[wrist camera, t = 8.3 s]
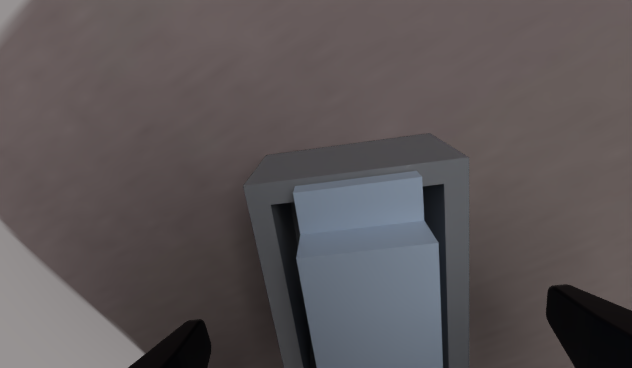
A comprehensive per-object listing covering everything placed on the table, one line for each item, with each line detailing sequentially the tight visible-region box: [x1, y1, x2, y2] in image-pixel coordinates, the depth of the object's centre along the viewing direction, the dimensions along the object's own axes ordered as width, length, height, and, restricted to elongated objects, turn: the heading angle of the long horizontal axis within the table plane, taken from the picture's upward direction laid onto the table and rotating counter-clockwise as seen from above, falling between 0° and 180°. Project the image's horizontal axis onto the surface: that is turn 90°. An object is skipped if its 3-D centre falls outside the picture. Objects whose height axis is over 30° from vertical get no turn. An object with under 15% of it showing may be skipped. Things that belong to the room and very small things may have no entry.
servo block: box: [293, 171, 443, 368], centre depth 10 cm, size 7×3×4 cm, turn 9°
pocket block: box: [243, 133, 469, 368], centre depth 11 cm, size 8×6×3 cm
